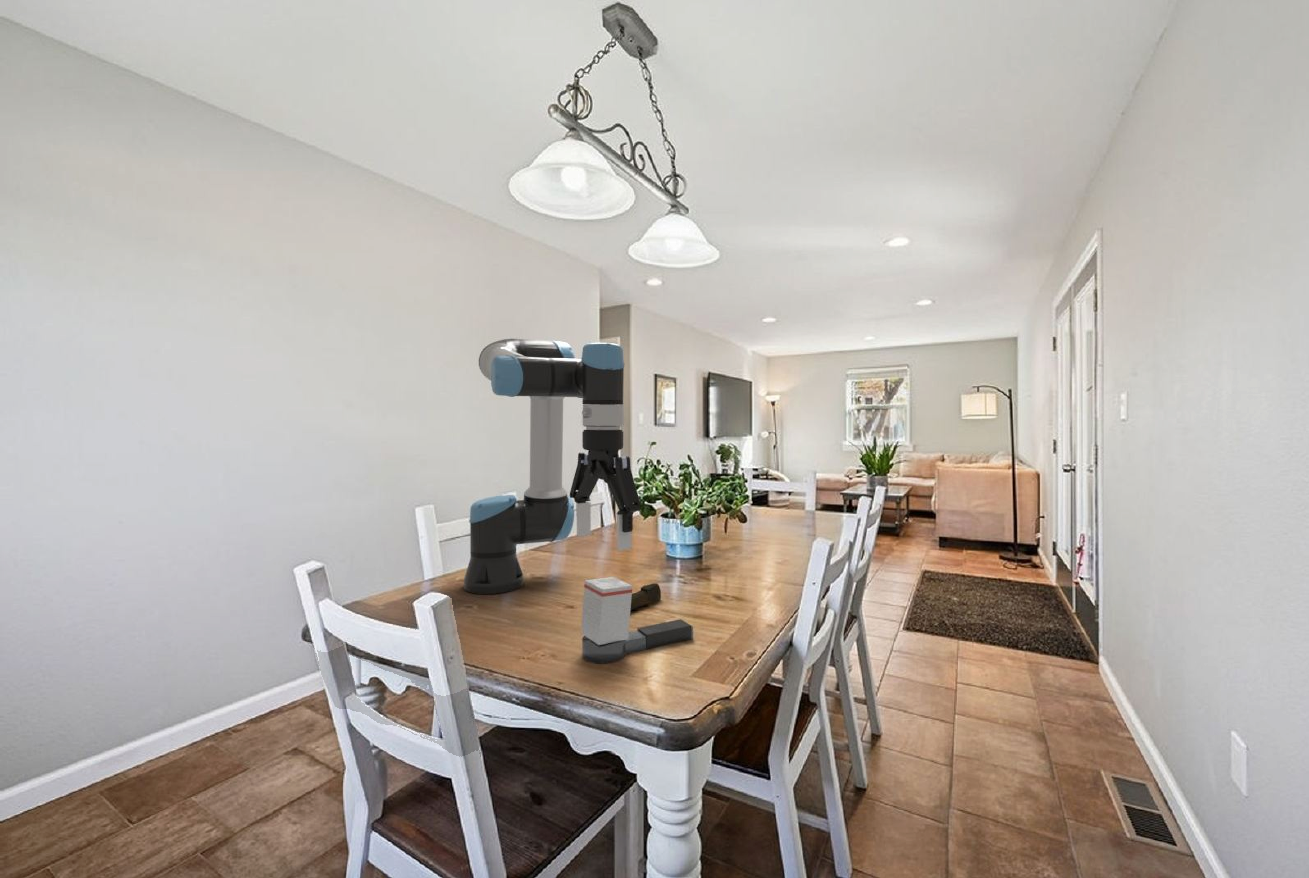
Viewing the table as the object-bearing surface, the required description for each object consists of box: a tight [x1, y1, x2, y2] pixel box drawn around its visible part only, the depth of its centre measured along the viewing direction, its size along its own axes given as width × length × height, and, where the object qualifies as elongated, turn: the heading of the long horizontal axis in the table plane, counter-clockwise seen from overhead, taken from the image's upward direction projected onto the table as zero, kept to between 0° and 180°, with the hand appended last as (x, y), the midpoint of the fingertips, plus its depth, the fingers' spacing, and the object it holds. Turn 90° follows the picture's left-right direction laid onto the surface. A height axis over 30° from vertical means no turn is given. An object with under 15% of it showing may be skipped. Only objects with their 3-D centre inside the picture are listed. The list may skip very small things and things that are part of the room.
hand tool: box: [630, 582, 662, 611], centre depth 128 cm, size 19×4×5 cm, turn 136°
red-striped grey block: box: [580, 576, 633, 645], centre depth 103 cm, size 6×6×10 cm
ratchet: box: [581, 618, 694, 664], centre depth 107 cm, size 22×8×8 cm, turn 119°
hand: (602, 542), depth 103 cm, fingers open, 13 cm apart
